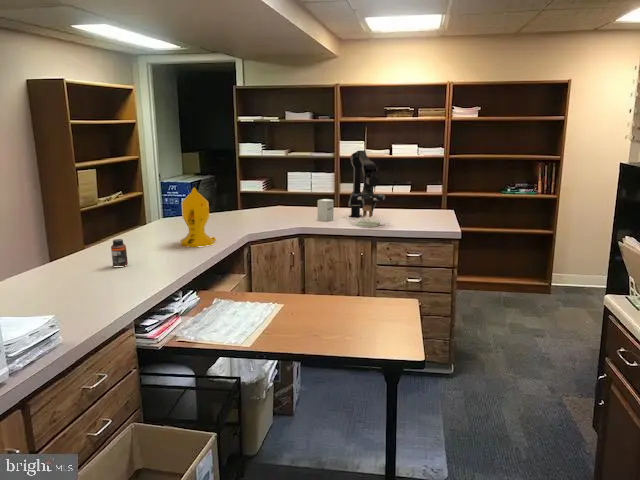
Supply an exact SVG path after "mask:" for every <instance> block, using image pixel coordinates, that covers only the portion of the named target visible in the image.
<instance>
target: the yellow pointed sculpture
mask: <svg viewBox="0 0 640 480" xmlns="http://www.w3.org/2000/svg"><path fill="white" fill-rule="evenodd" d="M209 204H210V203H209V201H208V200H207V199H206V198H205V197H204V196H203V195H202V194H201V193H199V192H198V190H197V188H196V187H193V188H192V189H191V192H189V194H187V195H186V197H185V198H184V199H183V200H182V201H181V215H182V216H181V218H182V219H183V221H184V222H185V224H186V225H187V229H188V233H187V234H186V236H185V237H183V238H181V239H179V244H180V246H181V245H182V246H181V247H183V246H189V247H198V246H206V245H211V244H213V243H214V244H215V242H216V241H217V240H216V237H214V236H209V235H207V233H206V232H205V227H206V224H207V223H208V221H209V218H210V205H209ZM214 244H213V245H214ZM211 246H212V245H211Z"/></svg>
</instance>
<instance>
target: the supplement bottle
mask: <svg viewBox="0 0 640 480" xmlns="http://www.w3.org/2000/svg"><path fill="white" fill-rule="evenodd" d="M110 250H111V258H112V259H111V261H112V267H113V266H125V265H127V264H129V263H128V262H129V261H128V255H127V252H128V251H127V246H126V244H125V243H124V239H122V238H116V239H113V240H112V245H111V247H110ZM127 266H128V265H127ZM125 267H126V266H125Z"/></svg>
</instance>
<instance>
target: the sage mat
mask: <svg viewBox="0 0 640 480" xmlns="http://www.w3.org/2000/svg"><path fill="white" fill-rule="evenodd" d="M380 224H381V221H376V220H363V219H362V220H361V219H360V220H359V221H357V222H355V224H354V226H355V227H356V226H357V227H369V228H370V227H371V228H376V227H377V226H378V225H380Z"/></svg>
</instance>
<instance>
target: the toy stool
mask: <svg viewBox="0 0 640 480" xmlns="http://www.w3.org/2000/svg"><path fill="white" fill-rule="evenodd" d="M373 212H374V211H373ZM373 212H372V205H365V204H364V206H363V209H362V217H367V213H369V214H368V217H369V218H372V217H373Z"/></svg>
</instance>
